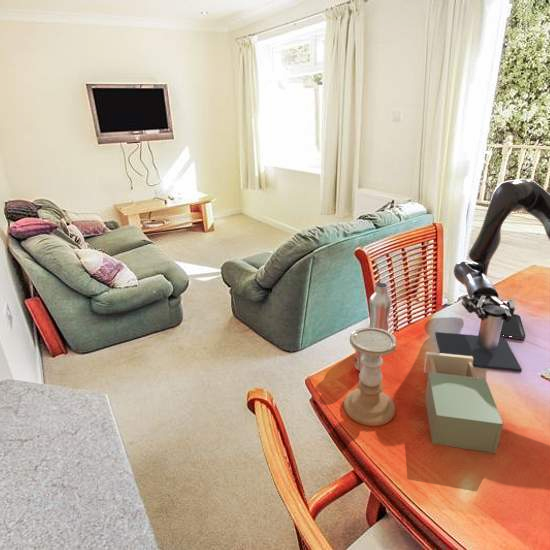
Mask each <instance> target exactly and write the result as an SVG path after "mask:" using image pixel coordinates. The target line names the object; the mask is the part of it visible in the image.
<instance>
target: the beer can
mask: <svg viewBox="0 0 550 550" xmlns="http://www.w3.org/2000/svg"><path fill="white" fill-rule="evenodd" d="M354 350H355V349H354ZM363 355H364V354H363V353H361V352H359V351H357V350H355V353H354V368H355V369H356V370H357V371H359V372H360V371H361V369H362V366H363V363H362V362H361V357H362V356H363Z"/></svg>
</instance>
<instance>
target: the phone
mask: <svg viewBox="0 0 550 550" xmlns="http://www.w3.org/2000/svg"><path fill="white" fill-rule="evenodd" d="M524 328H525V327H524V325H523V322H522V318H521V316H520V315H519V314H515V313H514V315H513V316H511V321H509V322H505V320H503V324H502V329H501V333H500V336H501V337H500V338H506V337H509V336H512V337H509V338H508V339H512V338H517V339H516V340H518V339H525V340H526V332H525V329H524ZM503 335H504V336H503Z"/></svg>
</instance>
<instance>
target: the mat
mask: <svg viewBox="0 0 550 550" xmlns="http://www.w3.org/2000/svg"><path fill="white" fill-rule="evenodd" d="M434 335H435V337H436V342H437V347H438V350H439V353H444V354H454V355H465V356H473V364H472V365H473V368H480V369H482V368H483V369H491V370H492V369H493V370H501V371H511V372H519V373H522V370H523V369H522V367H521V365H520V364H519V361H518V360H517V358H516V356H515V354H514V352H513V350H512V349H511V347H510V345H509V343H508V342H507V340H506V337H500V338H499V342H498V347H497V349H495V350H486V349H483V348H481V347H479V346H478V345H477V338H478V335H476V334H475V335H474V334H465V333H464V334H462V333H452V332H439V331H435V333H434Z"/></svg>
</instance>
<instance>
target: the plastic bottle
mask: <svg viewBox="0 0 550 550" xmlns="http://www.w3.org/2000/svg"><path fill="white" fill-rule="evenodd" d="M391 307H392V298H391V296H390V295H389V285H388V284H387V283H385V282H376V283H375V285H374V292H373V293H372V294H371V296H370V297H369V312H370V319H369V327H371V328H379V329H383V330H386V331H388V332H390V329H389V317H390V311H391ZM369 327H368V328H369Z"/></svg>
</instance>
